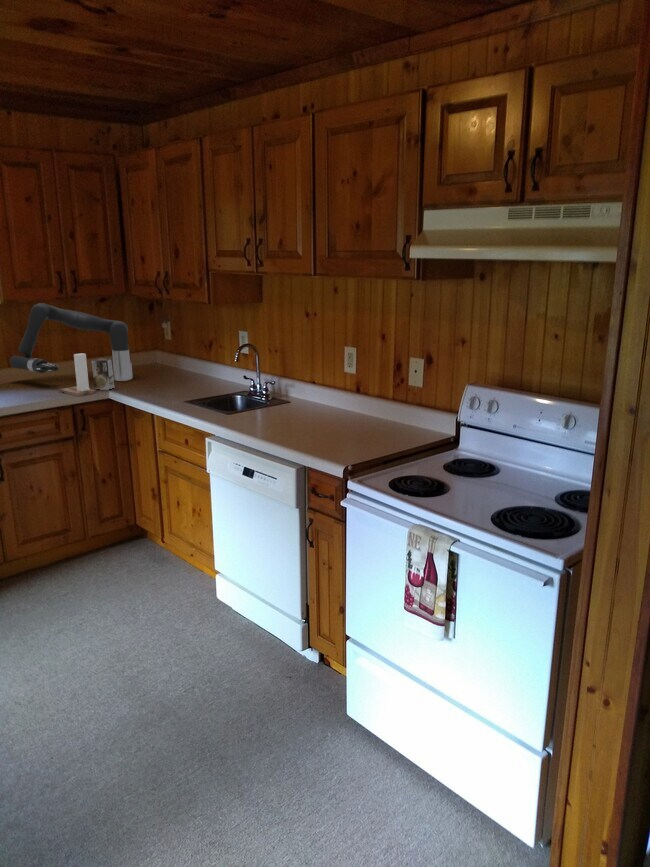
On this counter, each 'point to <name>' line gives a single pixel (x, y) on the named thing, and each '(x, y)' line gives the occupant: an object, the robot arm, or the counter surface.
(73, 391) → the slider board
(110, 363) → the coffee box
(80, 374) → the slider tab
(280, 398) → the counter surface
